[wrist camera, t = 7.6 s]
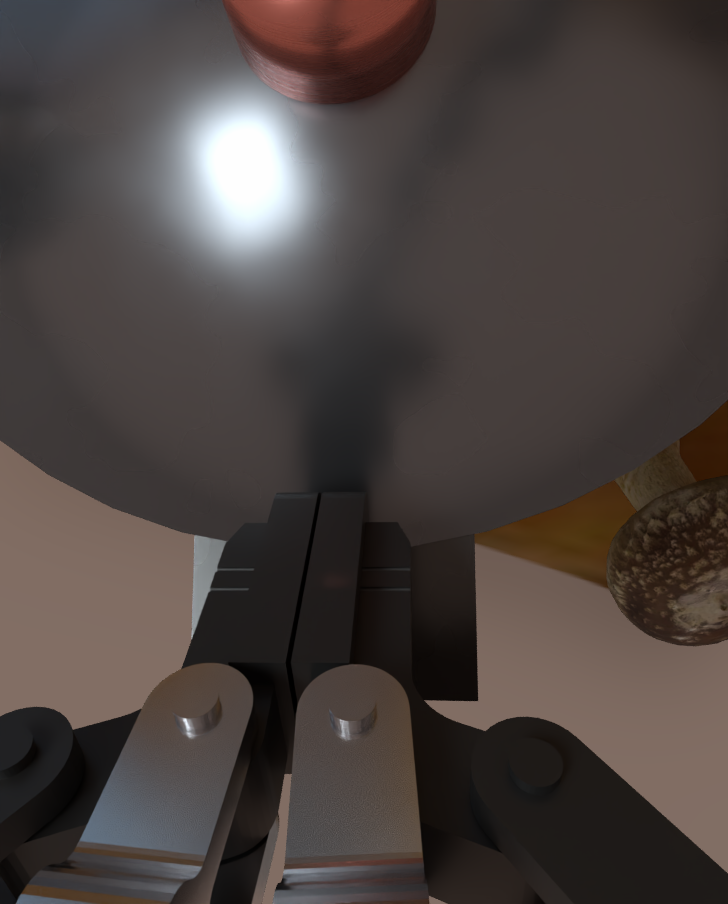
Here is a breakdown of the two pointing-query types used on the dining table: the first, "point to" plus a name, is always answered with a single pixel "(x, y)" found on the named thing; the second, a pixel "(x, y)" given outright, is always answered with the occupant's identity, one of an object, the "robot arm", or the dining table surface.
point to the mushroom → (673, 553)
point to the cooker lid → (361, 262)
